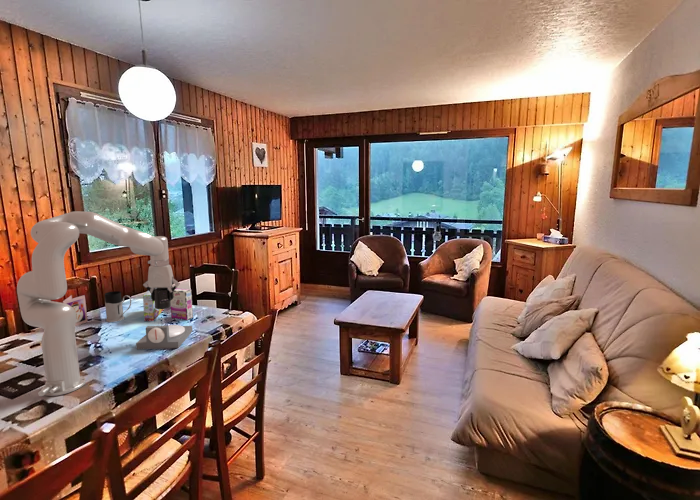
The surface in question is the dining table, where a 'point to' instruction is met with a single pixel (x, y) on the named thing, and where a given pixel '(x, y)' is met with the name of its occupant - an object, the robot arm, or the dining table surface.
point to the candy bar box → (182, 304)
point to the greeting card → (78, 308)
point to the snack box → (150, 308)
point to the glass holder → (114, 306)
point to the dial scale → (164, 337)
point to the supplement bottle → (162, 298)
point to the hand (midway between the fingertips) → (162, 299)
